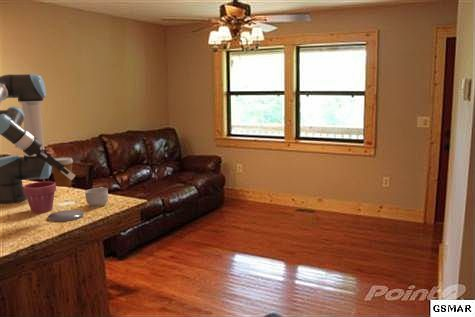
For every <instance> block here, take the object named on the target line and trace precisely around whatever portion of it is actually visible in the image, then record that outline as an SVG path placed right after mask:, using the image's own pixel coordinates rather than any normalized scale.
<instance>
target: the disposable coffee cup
mask: <svg viewBox="0 0 475 317" xmlns="http://www.w3.org/2000/svg"><path fill="white" fill-rule="evenodd" d="M53 158H54V159H55V160H57V161H58V162H59V163H60V164H62V165H64V167H66V168H67V169H68V170H69V171H71V172H72V173H73V171H72V170H73V163H74V160H73V158H72V157H68V156H67V157H65V156H64V157H53ZM51 171H52V175H53V178H54V182H55V184H56V187H59V188H60V187H62V188H63V187H68V186H72V180H71V179H69V178H68V177H67V176H65V175H64V174H63V173H61V172H58V171H59V170H58V169H57V168H55V167H54V166H53V165H52V170H51Z"/></svg>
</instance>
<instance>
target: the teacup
mask: <svg viewBox="0 0 475 317" xmlns="http://www.w3.org/2000/svg"><path fill="white" fill-rule="evenodd" d="M84 195H85V201H86V203H87V205H89V206H90V207H93V208H98V207H102V206H104V205H106V204H107V202H108V201H109V193H108V188H107V187H103V186H100V187H95V188H90V189H87V190H84Z"/></svg>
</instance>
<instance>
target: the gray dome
mask: <svg viewBox="0 0 475 317" xmlns="http://www.w3.org/2000/svg"><path fill="white" fill-rule="evenodd" d="M83 217H84V211H83V210H79V209H67V210H66V209H64V210H61V211H55V212H52V213H50V214H48V215H47V219H48V221H50V222H52V221H53V222H54V223H65V222H72V221H75V220H76V221H77V220H79V219H81V218H83Z"/></svg>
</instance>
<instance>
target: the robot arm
mask: <svg viewBox="0 0 475 317" xmlns="http://www.w3.org/2000/svg"><path fill="white" fill-rule="evenodd" d="M46 97H47V90H46V85H45V82H44V79H43V77H42V76H41V75H39V74H32V73H30V74H25V73H24V74H3V75H1V76H0V105H1V104H2V103H3V101H5V100H6V99H17V103H19V104H20V105H21V108H20V107H18V106H10V107H8V108H7V109H0V136H2V137H3V138H5V139H6V140H7V141H8V142H10V143H11V144H13V145H14V148H15V149H17V148H18V149H20V150H21V151H23V152H22V153H24V154H23V157H21V155H20V154H14V155H13V154H12V155H8V156H6V155H5V156H2V157H0V205H1V204H2V205H4V204H5V205H6V204H15V203H20V202H23V201H27V197H26V195H25V194H24V191H23V186H24V185H23V181H27V180H44V179H49V178H50V176H51V174H52V171H53V170H52V165H53V166H54V167H55V168H57V169H58V170H59V171H58V172H61V173H63V174H64V175H65V176H67V177H68V178H69V179H71V181H72V180H73V179H75V177H76V174H74V173H73V171H72V172H71V171H69V170H68V169H67V168H66V167H64V165H62V164H60V163H59V162H58V161H57V160H55V159H54V158H55V157H53V156H52V155H51V154H50V153H49V152H48V151H46V149H45V141H44V140H45V139H44V130H43V119H42V108H41V106H42V105H41V104H42V103H43V102H44V98H46ZM22 125H23V127H22Z"/></svg>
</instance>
